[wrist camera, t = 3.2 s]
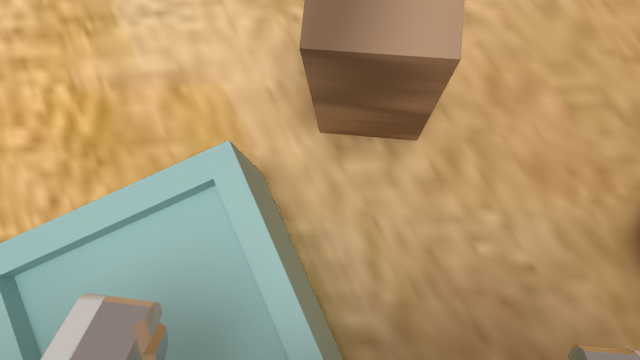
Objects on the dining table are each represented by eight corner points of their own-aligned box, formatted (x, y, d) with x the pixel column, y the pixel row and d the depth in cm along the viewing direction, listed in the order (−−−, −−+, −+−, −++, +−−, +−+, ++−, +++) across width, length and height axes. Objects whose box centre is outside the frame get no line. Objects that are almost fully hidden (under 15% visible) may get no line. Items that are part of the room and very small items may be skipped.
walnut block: (423, 48, 25) (469, -89, 15) (416, 140, 25) (460, 59, 15) (329, 41, 26) (315, -97, 16) (320, 132, 25) (299, 48, 15)
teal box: (262, 173, 25) (228, 140, 18) (351, 377, 23) (352, 426, 16) (67, 262, 25) (-41, 261, 18) (143, 472, 23) (56, 562, 16)
